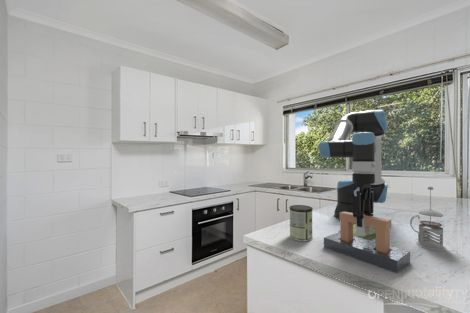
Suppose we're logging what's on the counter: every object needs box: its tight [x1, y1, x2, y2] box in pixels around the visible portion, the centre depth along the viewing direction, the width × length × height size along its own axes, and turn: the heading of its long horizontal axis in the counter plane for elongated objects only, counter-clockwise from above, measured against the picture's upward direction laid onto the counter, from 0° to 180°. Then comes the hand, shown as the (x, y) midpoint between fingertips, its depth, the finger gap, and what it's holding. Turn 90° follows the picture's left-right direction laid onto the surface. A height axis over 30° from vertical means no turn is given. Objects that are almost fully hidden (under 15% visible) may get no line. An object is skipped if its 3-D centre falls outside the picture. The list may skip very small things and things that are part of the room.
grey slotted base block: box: [323, 231, 411, 274], centre depth 87 cm, size 26×12×4 cm, turn 36°
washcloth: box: [338, 223, 376, 240], centre depth 110 cm, size 13×18×3 cm
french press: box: [409, 186, 447, 252], centre depth 96 cm, size 10×12×25 cm
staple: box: [338, 212, 392, 254], centre depth 87 cm, size 17×4×12 cm, turn 37°
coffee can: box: [289, 204, 314, 242], centre depth 106 cm, size 10×10×14 cm
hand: (363, 233), depth 87 cm, fingers closed on staple, 4 cm apart
